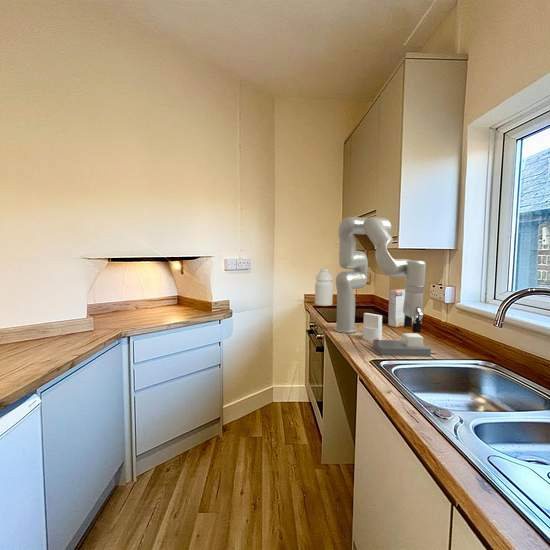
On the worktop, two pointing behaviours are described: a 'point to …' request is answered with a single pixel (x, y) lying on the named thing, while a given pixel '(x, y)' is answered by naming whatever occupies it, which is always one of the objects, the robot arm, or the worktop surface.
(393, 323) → the cracker box
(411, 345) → the plug
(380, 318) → the base with upright slab
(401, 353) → the socket plate
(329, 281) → the bottle
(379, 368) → the worktop surface
